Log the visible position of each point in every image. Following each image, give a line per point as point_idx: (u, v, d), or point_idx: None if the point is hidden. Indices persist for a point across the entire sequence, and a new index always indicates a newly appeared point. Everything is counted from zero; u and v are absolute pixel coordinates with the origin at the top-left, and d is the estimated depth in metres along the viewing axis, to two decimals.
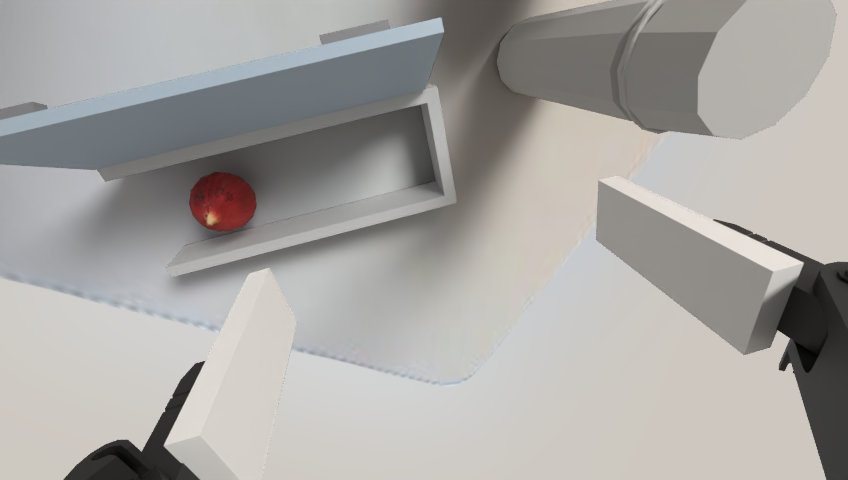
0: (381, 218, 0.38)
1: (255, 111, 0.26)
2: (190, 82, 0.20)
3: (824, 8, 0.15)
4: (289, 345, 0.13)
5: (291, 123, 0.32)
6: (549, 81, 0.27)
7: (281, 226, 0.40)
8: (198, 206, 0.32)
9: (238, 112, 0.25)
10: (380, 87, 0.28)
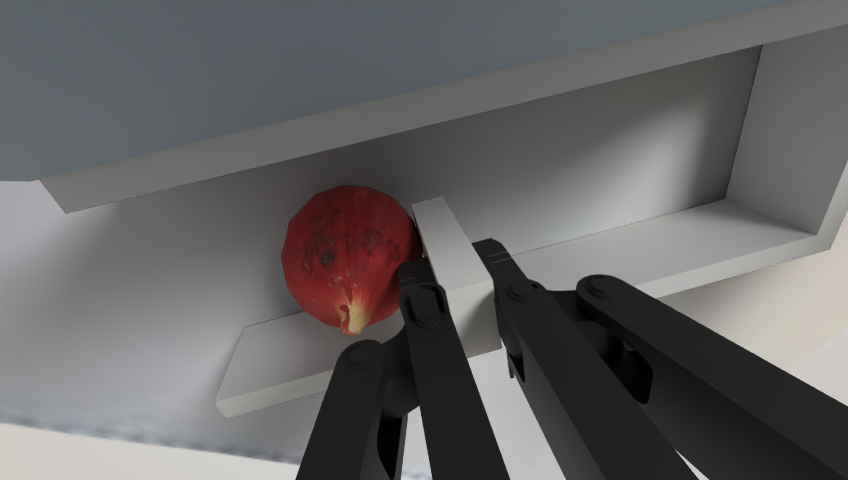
0: (680, 283, 0.17)
1: None
2: None
3: None
4: None
5: (584, 54, 0.12)
6: None
7: None
8: (319, 280, 0.12)
9: None
10: None
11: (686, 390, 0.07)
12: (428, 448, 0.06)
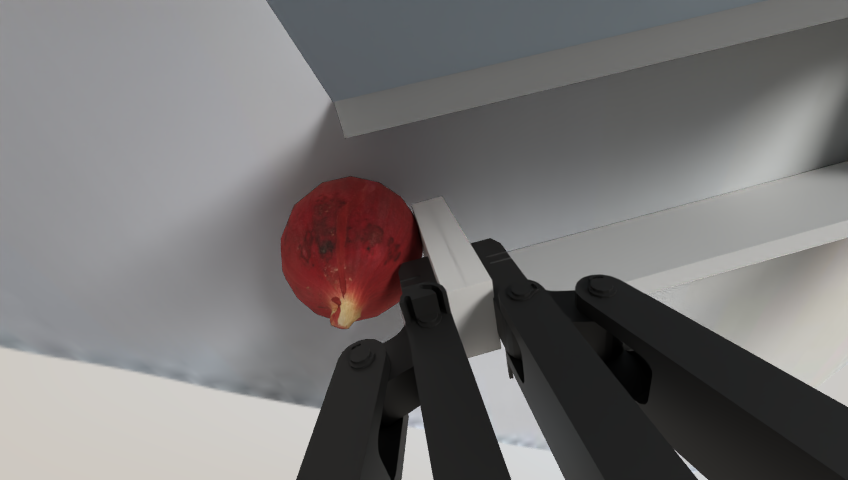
0: (840, 232, 0.18)
1: None
2: None
3: None
4: None
5: None
6: None
7: (598, 247, 0.20)
8: (315, 269, 0.12)
9: None
10: None
11: (685, 390, 0.07)
12: (429, 448, 0.06)
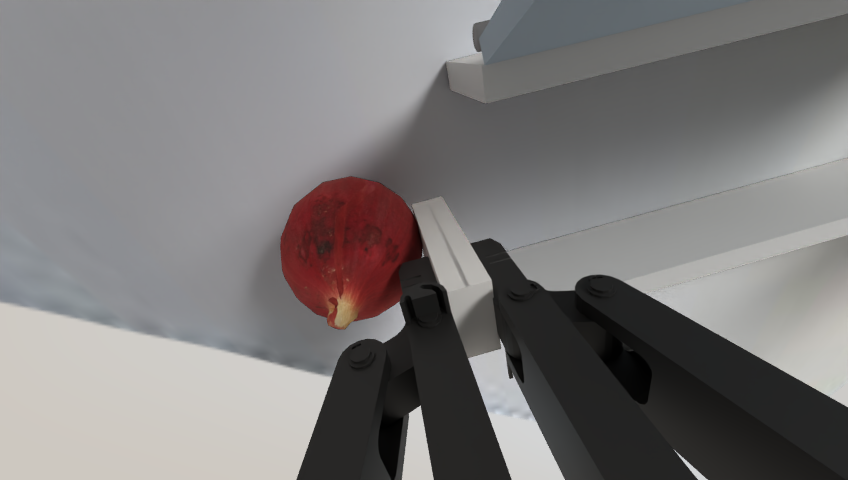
0: None
1: None
2: None
3: None
4: None
5: None
6: None
7: (679, 223, 0.20)
8: (313, 269, 0.12)
9: None
10: None
11: (685, 390, 0.07)
12: (429, 448, 0.06)
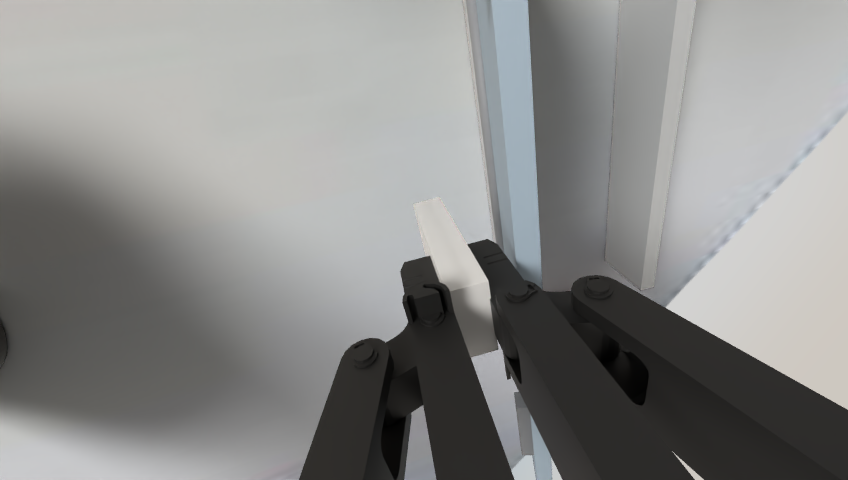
0: None
1: None
2: (526, 256, 0.12)
3: None
4: None
5: None
6: None
7: (626, 151, 0.27)
8: None
9: None
10: None
11: (682, 391, 0.07)
12: (432, 447, 0.06)
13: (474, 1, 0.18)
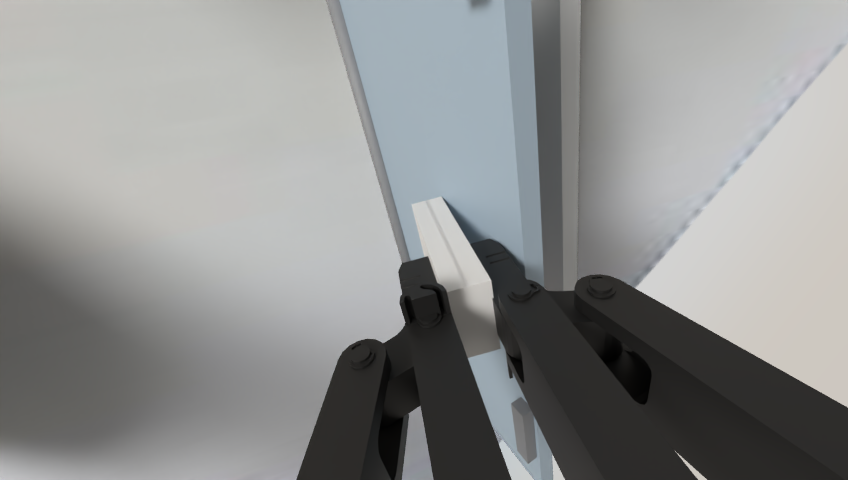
0: None
1: None
2: (531, 253, 0.12)
3: None
4: None
5: None
6: None
7: (540, 172, 0.27)
8: None
9: None
10: None
11: (684, 390, 0.07)
12: (429, 448, 0.06)
13: (346, 31, 0.17)
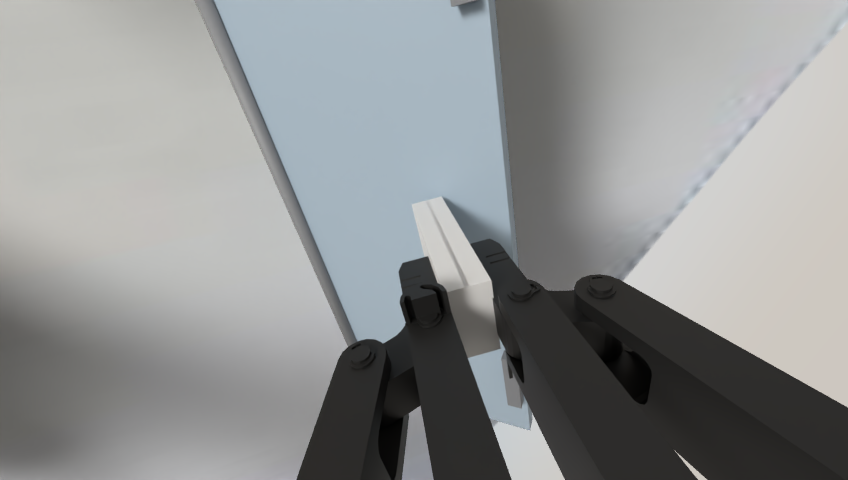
0: None
1: None
2: (510, 209, 0.15)
3: None
4: None
5: None
6: None
7: None
8: None
9: None
10: None
11: (684, 390, 0.07)
12: (429, 448, 0.06)
13: (237, 58, 0.16)
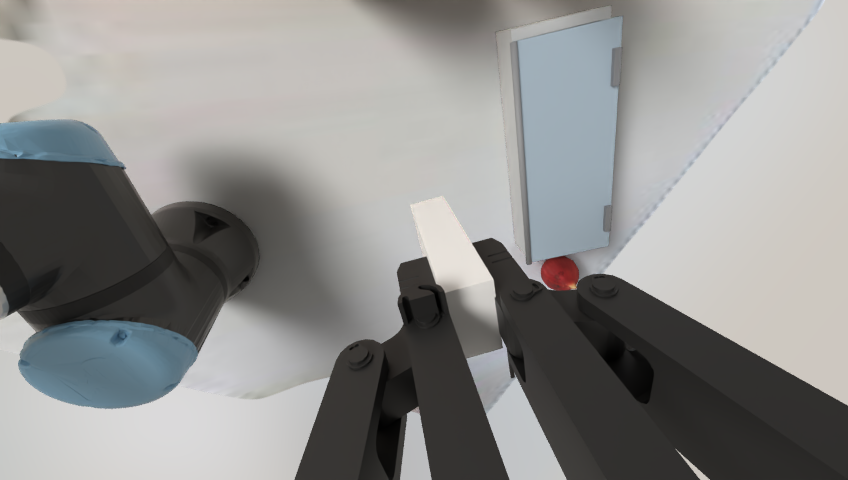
0: None
1: None
2: (613, 145, 0.46)
3: None
4: None
5: None
6: None
7: None
8: (562, 289, 0.56)
9: None
10: None
11: (687, 390, 0.07)
12: (427, 448, 0.06)
13: (521, 104, 0.42)
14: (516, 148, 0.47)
